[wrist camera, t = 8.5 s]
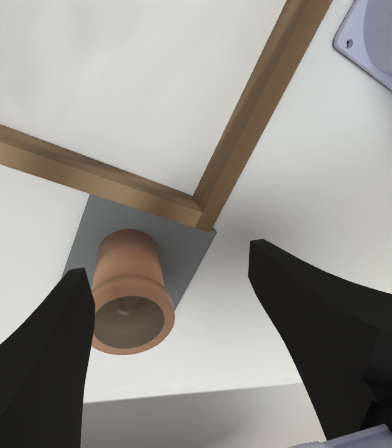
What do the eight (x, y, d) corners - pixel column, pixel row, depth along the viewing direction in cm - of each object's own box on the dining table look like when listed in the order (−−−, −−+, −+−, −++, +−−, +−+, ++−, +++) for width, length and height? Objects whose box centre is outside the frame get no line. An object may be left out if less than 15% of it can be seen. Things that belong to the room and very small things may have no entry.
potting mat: (214, 229, 23) (216, 232, 23) (167, 317, 27) (168, 322, 26) (91, 188, 20) (91, 191, 19) (55, 296, 23) (53, 301, 23)
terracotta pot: (151, 217, 21) (161, 275, 15) (168, 270, 24) (183, 339, 18) (82, 236, 21) (63, 305, 14) (107, 289, 23) (100, 365, 17)
